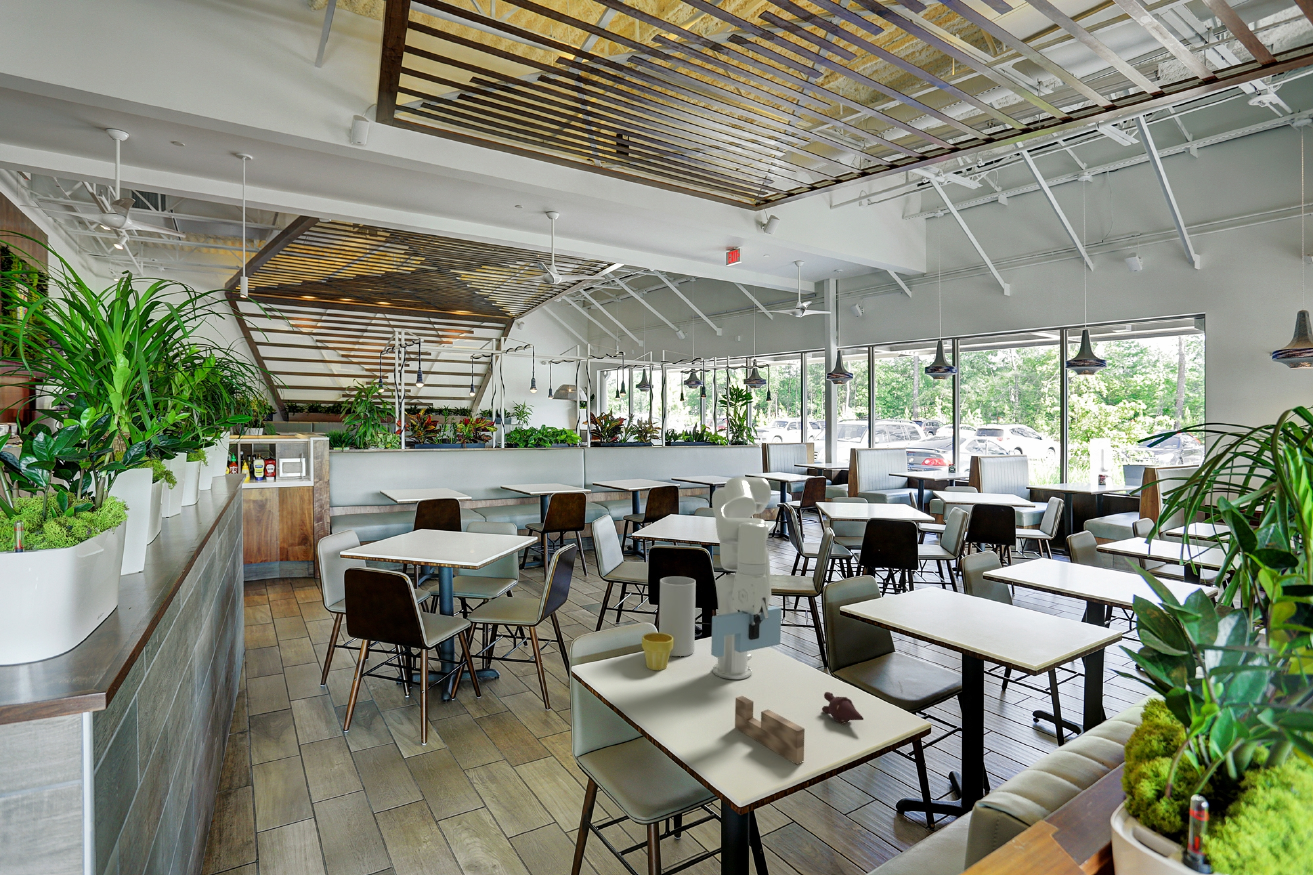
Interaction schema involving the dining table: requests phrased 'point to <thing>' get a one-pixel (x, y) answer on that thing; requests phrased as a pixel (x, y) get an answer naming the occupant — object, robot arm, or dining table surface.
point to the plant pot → (657, 649)
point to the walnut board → (770, 730)
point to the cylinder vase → (678, 613)
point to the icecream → (841, 708)
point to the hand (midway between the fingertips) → (750, 636)
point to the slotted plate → (745, 631)
